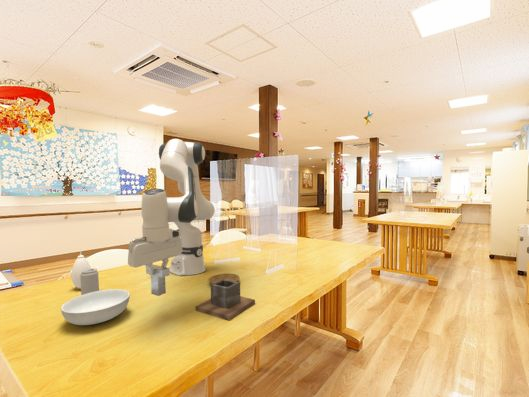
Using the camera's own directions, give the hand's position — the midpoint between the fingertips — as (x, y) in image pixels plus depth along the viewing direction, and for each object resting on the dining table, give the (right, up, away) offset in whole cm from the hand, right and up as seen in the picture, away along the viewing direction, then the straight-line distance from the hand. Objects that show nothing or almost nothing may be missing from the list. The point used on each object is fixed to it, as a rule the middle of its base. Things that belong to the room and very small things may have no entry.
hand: (157, 273), depth 99 cm
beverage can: (-36, -16, +18) cm, 43 cm away
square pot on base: (+23, -15, +7) cm, 29 cm away
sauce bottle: (-47, -16, +30) cm, 58 cm away
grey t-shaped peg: (0, -7, 0) cm, 7 cm away
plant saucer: (+19, -14, +34) cm, 41 cm away
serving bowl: (-21, -16, 0) cm, 27 cm away
